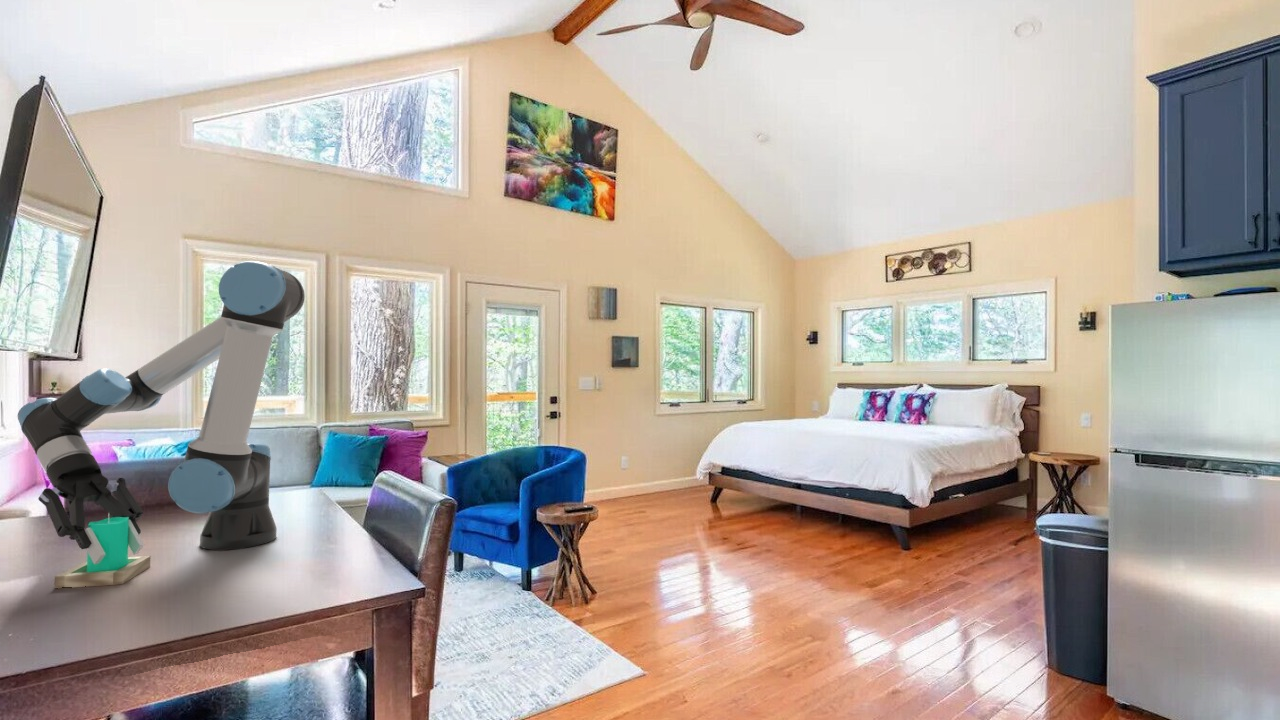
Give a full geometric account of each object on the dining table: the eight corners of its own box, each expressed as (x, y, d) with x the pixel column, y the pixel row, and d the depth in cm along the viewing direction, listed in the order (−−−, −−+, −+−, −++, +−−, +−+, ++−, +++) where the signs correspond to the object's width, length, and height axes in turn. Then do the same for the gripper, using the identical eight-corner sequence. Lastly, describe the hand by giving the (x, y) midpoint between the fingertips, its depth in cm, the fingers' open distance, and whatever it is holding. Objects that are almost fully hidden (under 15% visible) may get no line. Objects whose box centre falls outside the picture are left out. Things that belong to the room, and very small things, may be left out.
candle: (126, 567, 123) (127, 507, 123) (129, 575, 118) (130, 513, 119) (85, 574, 118) (87, 512, 119) (87, 582, 114) (89, 518, 114)
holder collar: (150, 566, 125) (150, 555, 125) (122, 584, 115) (122, 572, 115) (88, 570, 122) (88, 559, 122) (54, 588, 112) (54, 576, 112)
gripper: (115, 469, 133) (163, 553, 127) (-1, 484, 115) (49, 582, 109) (131, 446, 131) (181, 529, 125) (16, 457, 113) (68, 556, 108)
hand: (120, 554), depth 117 cm, fingers closed on candle, 6 cm apart
